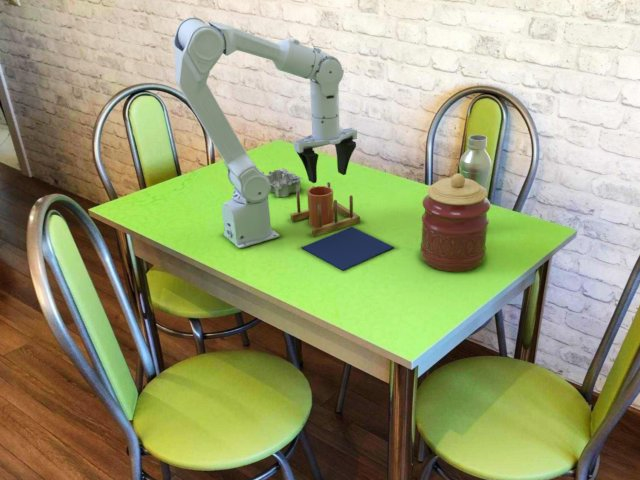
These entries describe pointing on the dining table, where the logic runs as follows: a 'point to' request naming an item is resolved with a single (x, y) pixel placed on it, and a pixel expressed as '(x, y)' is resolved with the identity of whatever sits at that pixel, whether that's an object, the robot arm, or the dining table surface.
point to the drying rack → (336, 225)
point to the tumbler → (323, 198)
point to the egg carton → (283, 182)
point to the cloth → (347, 248)
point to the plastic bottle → (476, 161)
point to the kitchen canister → (454, 224)
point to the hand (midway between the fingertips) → (327, 177)
